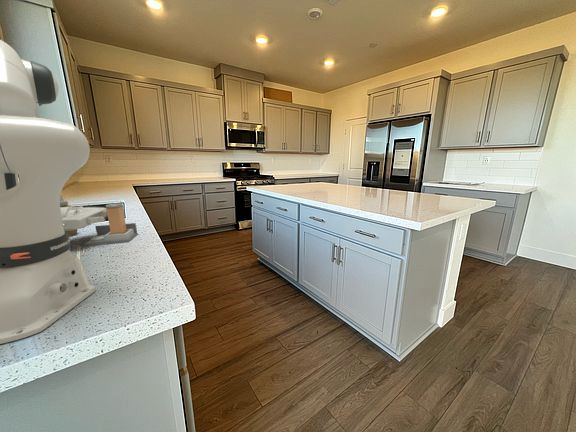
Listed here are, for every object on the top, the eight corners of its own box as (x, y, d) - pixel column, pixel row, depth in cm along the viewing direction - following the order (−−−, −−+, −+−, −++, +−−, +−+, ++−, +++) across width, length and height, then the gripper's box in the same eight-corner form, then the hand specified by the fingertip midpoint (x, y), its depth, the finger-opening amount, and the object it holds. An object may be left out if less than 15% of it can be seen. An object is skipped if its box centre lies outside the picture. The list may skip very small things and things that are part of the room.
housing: (128, 242, 91) (126, 229, 90) (85, 246, 88) (82, 232, 86) (137, 234, 101) (135, 223, 99) (98, 237, 97) (96, 225, 96)
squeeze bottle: (68, 238, 97) (57, 194, 93) (48, 238, 97) (37, 194, 93) (85, 232, 105) (76, 191, 100) (67, 232, 105) (57, 191, 101)
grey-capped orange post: (125, 238, 93) (119, 205, 90) (109, 239, 91) (103, 206, 88) (129, 234, 97) (124, 203, 94) (115, 235, 96) (109, 203, 93)
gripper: (45, 217, 78) (95, 214, 82) (80, 205, 97) (119, 203, 101) (50, 235, 80) (98, 231, 83) (83, 220, 99) (121, 218, 102)
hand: (110, 216), depth 92 cm, fingers open, 8 cm apart
